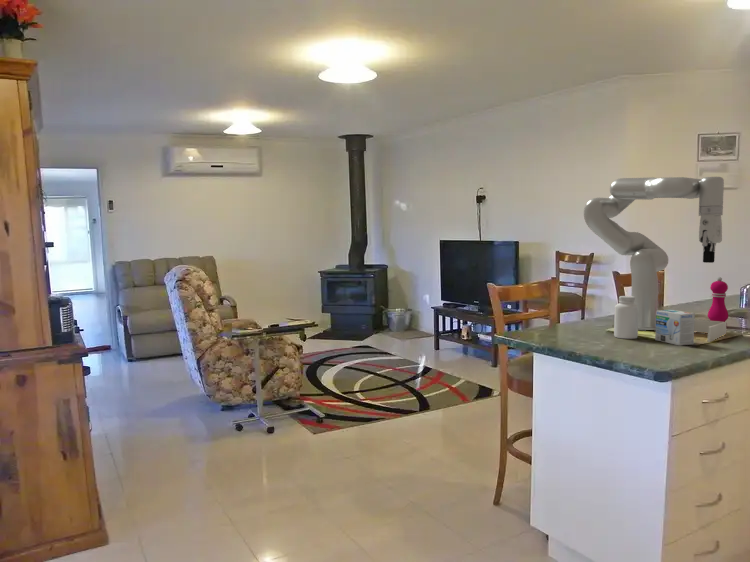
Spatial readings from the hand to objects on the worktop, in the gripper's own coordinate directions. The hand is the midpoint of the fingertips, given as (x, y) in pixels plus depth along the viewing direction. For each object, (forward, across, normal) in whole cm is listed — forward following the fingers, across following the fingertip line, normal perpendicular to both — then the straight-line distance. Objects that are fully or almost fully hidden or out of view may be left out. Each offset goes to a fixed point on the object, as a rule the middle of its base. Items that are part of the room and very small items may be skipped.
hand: (708, 262), depth 210 cm
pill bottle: (+27, -23, +19) cm, 41 cm away
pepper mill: (+27, +26, +4) cm, 38 cm away
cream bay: (+27, -3, +3) cm, 27 cm away
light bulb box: (+27, -20, +4) cm, 34 cm away
